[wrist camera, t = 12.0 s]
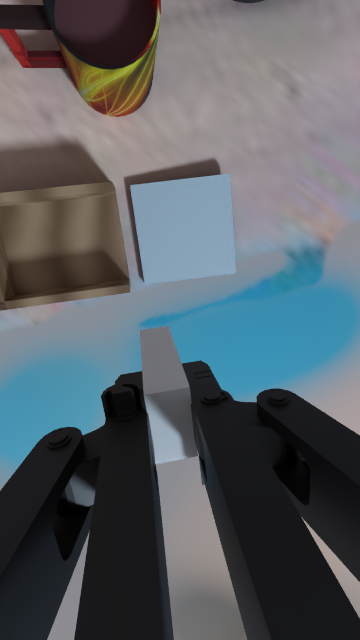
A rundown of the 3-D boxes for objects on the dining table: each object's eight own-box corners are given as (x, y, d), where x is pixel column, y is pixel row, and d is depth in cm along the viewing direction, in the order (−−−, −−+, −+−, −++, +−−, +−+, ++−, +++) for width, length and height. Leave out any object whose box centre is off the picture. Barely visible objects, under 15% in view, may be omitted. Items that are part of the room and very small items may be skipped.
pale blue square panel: (228, 174, 41) (229, 173, 40) (234, 272, 45) (235, 273, 44) (130, 186, 41) (129, 185, 40) (145, 283, 45) (144, 284, 44)
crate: (114, 187, 41) (111, 181, 35) (130, 284, 44) (130, 292, 39) (-14, 200, 39) (-36, 196, 34) (14, 300, 43) (-2, 310, 38)
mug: (21, 64, 36) (-31, -12, 24) (126, 3, 35) (122, -103, 24) (70, 148, 39) (44, 115, 27) (166, 92, 39) (180, 35, 27)
